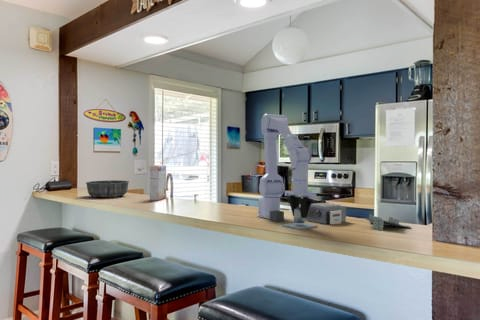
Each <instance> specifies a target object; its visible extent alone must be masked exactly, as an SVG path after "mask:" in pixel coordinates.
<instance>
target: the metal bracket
mask: <svg viewBox="0 0 480 320" xmlns="http://www.w3.org/2000/svg"><path fill="white" fill-rule="evenodd" d="M363 218H364V220H366V221H368V223H370V224H372V230H376V231H382V232H383V231H384V226H390V227H391V226H393V227H399V228H406V229H412V227H411V226H409V225H402V224H400V220H399V219H397V218H393V216H389V218H388V220H384V219H382V218H381V217H379V216H374V215H373V214H369V216H368V218H366V217H363Z"/></svg>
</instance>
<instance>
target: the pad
mask: <svg viewBox="0 0 480 320" xmlns="http://www.w3.org/2000/svg"><path fill="white" fill-rule="evenodd" d="M282 227H285V228H291V229H294V228H295V229H294V230H298V229H299V231H300V229H302V230H307V229H308V228H309V229H314V228H315V229H316V228H318V225H316V224H311V223H306V222H305V223H294V222H290V223H283V224H282Z"/></svg>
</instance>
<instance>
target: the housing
mask: <svg viewBox="0 0 480 320" xmlns="http://www.w3.org/2000/svg"><path fill="white" fill-rule="evenodd" d="M339 210H341V223H344V222H346V220H347V207H346V206H343V205H341V204H335V203H328V202H318V203H312V204H311V206H310V208H309V211H308V214H307V218H305V222H306V221H308V222H312V223H316V224H323V225H330V211H339Z"/></svg>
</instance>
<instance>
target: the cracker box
mask: <svg viewBox="0 0 480 320" xmlns="http://www.w3.org/2000/svg"><path fill="white" fill-rule="evenodd" d="M165 187H166V188H167V165H165V164H164V165H163V164H159V165H158V164H157V165H149V201H150V202H151V201H156V202H159V201H161V200H165V199H167V189H166V190H165Z"/></svg>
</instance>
